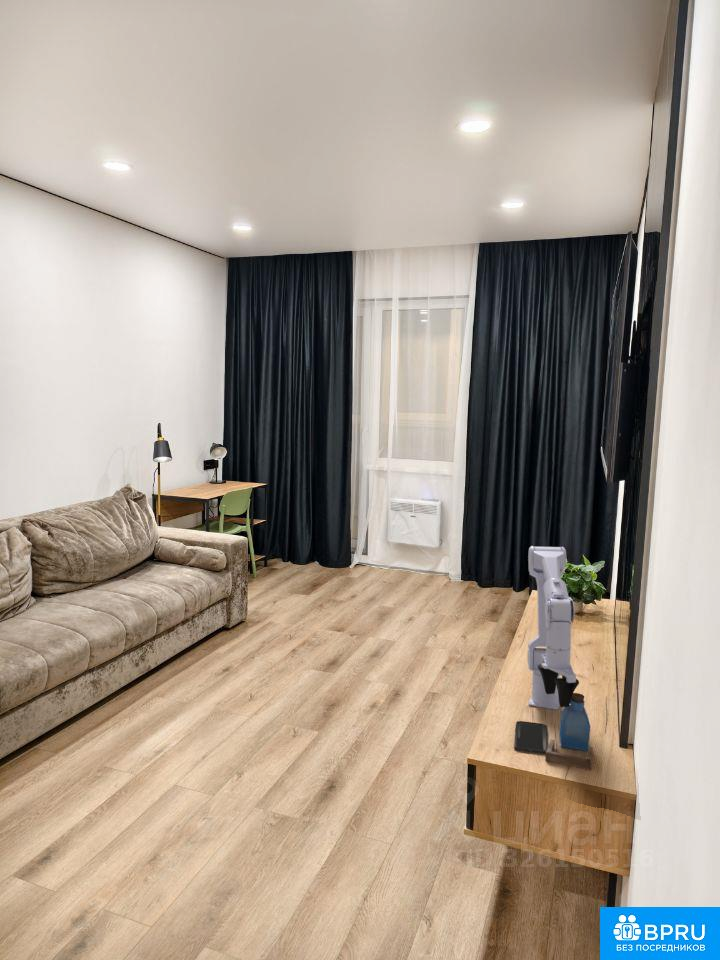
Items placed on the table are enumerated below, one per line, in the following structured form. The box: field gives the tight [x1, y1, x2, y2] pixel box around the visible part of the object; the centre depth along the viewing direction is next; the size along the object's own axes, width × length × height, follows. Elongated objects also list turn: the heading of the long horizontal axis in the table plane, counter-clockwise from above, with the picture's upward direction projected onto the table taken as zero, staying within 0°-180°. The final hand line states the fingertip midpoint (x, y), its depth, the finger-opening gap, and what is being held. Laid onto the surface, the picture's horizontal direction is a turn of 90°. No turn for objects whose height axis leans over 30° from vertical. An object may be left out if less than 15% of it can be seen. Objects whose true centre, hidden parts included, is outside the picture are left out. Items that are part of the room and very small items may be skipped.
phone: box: [513, 720, 548, 755], centre depth 162 cm, size 8×1×15 cm
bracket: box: [544, 738, 594, 771], centre depth 153 cm, size 7×10×2 cm
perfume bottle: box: [558, 692, 591, 752], centre depth 159 cm, size 6×6×12 cm
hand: (557, 699), depth 162 cm, fingers open, 7 cm apart
